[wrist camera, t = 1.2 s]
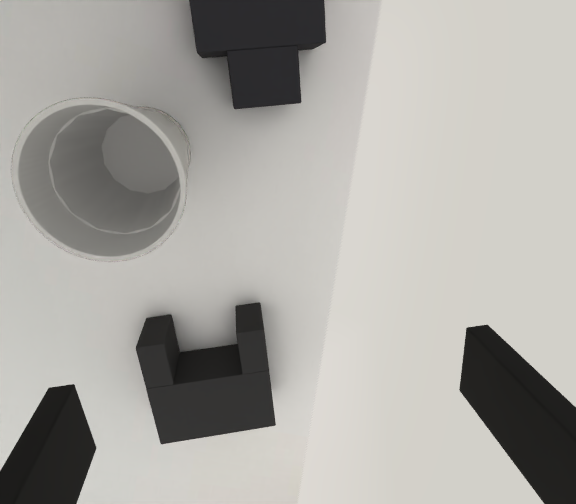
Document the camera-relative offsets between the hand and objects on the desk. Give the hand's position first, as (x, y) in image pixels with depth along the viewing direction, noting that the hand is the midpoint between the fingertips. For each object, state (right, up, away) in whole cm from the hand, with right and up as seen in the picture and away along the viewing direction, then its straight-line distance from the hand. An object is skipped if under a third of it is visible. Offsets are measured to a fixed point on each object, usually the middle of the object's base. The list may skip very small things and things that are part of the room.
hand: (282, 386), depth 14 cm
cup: (-10, +12, +17) cm, 23 cm away
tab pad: (-2, +21, +15) cm, 26 cm away
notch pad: (-7, -5, +24) cm, 26 cm away
